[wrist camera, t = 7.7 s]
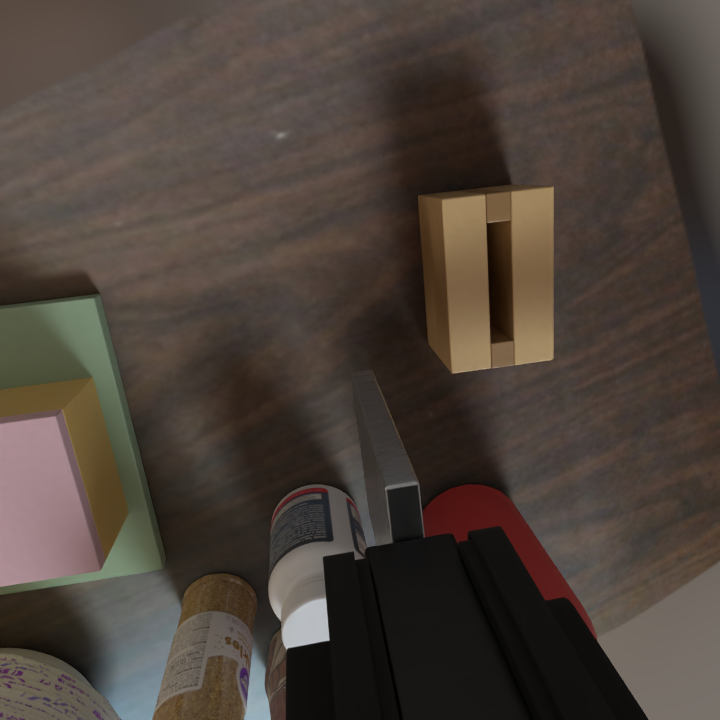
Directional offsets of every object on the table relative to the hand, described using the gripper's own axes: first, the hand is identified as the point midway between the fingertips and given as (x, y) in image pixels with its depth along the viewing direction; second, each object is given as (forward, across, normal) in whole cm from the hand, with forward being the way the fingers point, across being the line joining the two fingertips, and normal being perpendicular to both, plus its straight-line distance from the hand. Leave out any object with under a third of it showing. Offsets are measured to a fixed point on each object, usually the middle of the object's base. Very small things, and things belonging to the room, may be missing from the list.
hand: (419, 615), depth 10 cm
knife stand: (+22, -8, -2) cm, 23 cm away
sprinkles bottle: (+22, +9, +17) cm, 29 cm away
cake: (+21, +18, +5) cm, 28 cm away
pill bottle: (+22, +3, +12) cm, 26 cm away
